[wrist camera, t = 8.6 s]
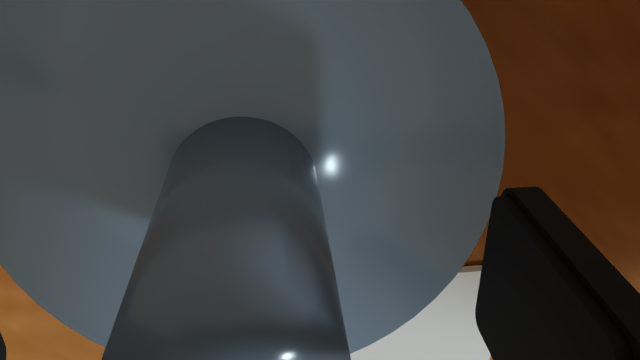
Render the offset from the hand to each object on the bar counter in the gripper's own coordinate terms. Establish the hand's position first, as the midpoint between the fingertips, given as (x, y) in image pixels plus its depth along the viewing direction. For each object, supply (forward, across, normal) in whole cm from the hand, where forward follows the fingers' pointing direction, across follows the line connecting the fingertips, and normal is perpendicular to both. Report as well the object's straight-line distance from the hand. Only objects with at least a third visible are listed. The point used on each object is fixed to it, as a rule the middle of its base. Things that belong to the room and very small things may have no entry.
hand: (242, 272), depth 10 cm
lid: (+4, 0, 0) cm, 5 cm away
